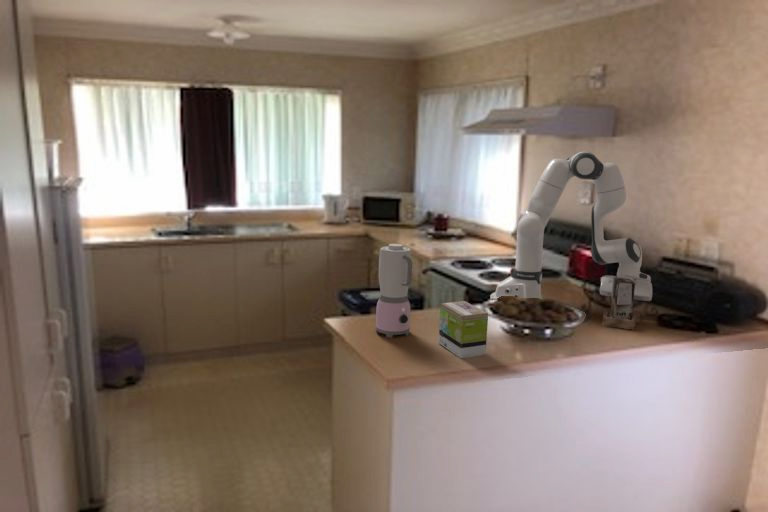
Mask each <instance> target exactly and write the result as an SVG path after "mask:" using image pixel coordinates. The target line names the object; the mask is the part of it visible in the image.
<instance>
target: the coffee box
mask: <svg viewBox="0 0 768 512" xmlns="http://www.w3.org/2000/svg"><path fill="white" fill-rule="evenodd" d="M634 290H635V283H634V282H633V281H631V280H630V279H627V278H613V287H612V296H610V297H611V298H610V299H611V300H610V307H609V308H610V309H609V317H612V318H619V319H625V320H632V316H633V315H632V314H633V313H632V312H633V306H634V299H633V298H634Z"/></svg>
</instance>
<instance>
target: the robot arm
mask: <svg viewBox="0 0 768 512" xmlns="http://www.w3.org/2000/svg"><path fill="white" fill-rule="evenodd" d="M574 177H576V178H578V179H580V180H592V181H593V183H594V186H595V191H596V202H595V204H594V205H593V206H592V207H591V213H590V214H591V216H590V217H591V223H590V224H591V248H590V252H591V253H590V254H591V258H592V260H593V261H594V262H595V263H597V264H598V265H600V266H601V265H602V266H603V265H608V264H613V263H618V265H619V266H618V268H617V272H616V275H608V274H605V275H602V277H600V287H599V294H600V295H601V296H607V297H611V296H612V287H613V278H627V279H630V280H631V281H633V282H634V283H635V290H634V298H633V300H637V301H646V302H651V301H652V298H653V285H652V282H651V281H652V280H651V279H652V278H651V276H650V275H649V274H646V273H643V272H641V268H642V267H641V266H642V262H643V250H642V246H641V245H640V244H638V243H637V242H636V241H635V240H634V239H632V238H631V237H626V238H625V237H624V238H617V239H610V240H606V239H605V237H604V221H605V218H606V217H607V216H609V215H610V214H612V213H614V212H616V211H617V210H619V209H620V208H621V207H622V206H624V204H625V202H626V200H627V194H626V193H627V192H626V187H625V182H624V179H623V176H622V172H621V170H620V168H619V166H618V164H616V163H615V162H603V163H602V162H601V161H600V159H598V158H597V156H596V155H595V154H594V153H592V152H590V151H587V150H581V151H577V152H575V153H574V154H573V155H571V156H569V157H568V158H566V159H563V158H559V157H558V158H552V159H551V160H550V161H549V162H548V164H547V165H546V167H545V168H544V170H543V172H542V174H541V175H540V177H539V179H538V181H537V184H536V185H535V188H534V190H533V191H532V193H531V196H530V198H529V201H528V202H527V205H526V207H525V208H524V211H523V214H522V215H521V217H520V219H519V220H518V222H517V227H516V250H515V251H516V252H515V253H516V255H515V266H513V267H512V268H511V269H510V271H509V275H510V276H508V277H507V278H505V279H503V280H502V281H500V282H499V283H498V284H497V286H496V287H495V288H496V289H495V291H494V292H492V293H491V294H490V298H489V299H490V300H491V301H495V300H494V299H497V298H499V297H501V296H515V297H520V298H540V299H542V290H541V283H542V280H543V279H542V277H543V270H542V265H543V254H544V253H543V249H544V247H543V246H544V235H545V234H544V233H545V228H546V227H547V224H548V222H549V221H550V218H551V216H552V214H553V212H554V210H555V208H556V207H557V205H558V203H559V200H560V199H561V196H562V194H563V193H564V190H565V188H566V186H567V184H568V183H569V180H571V179H572V178H574ZM542 300H543V299H542Z"/></svg>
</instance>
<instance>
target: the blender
mask: <svg viewBox="0 0 768 512" xmlns="http://www.w3.org/2000/svg"><path fill="white" fill-rule="evenodd" d="M412 276H413V261H412V250H411V248H410V247H406V246H404V245H403V244H401V243H389V244H388V246H383V247H380V249H379V259H378V284H379V290H380V296H379V298H378V301H377V303H376V311H375V313H376V314H375V320H376V321H375V330H376V331H377V333H381V334H384V335H385V337H386V338H389V339H392V338H393V337H394V336H397V335H403V334H404V335H405V336H409V334H410V329H411V328H410V325H411V323H410V322H411V303H410V301H409V299H408V292H409V287H410V285H411V284H412V279H413V278H412Z"/></svg>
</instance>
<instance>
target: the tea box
mask: <svg viewBox="0 0 768 512" xmlns="http://www.w3.org/2000/svg"><path fill="white" fill-rule="evenodd" d="M488 321H489V313H488V312H487V311H485V310H483V309H481V308H479V307H477V306H475V305H473V304H471V303H469V302H467V301H465V300H462V301H452V302H451V301H450V302H445V303H443V302H440V307H439V326H438V327H439V330H438V331H439V332H438V344H439V345H441V346H443V347H444V348H446V350H448V351H449V352H450V353H452V354H453V355H455V356H456V357H458V358H459V359H467V358H474V356H475V357H480V356H486V353H487V352H486V351H487V337H488V324H489V323H488Z"/></svg>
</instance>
